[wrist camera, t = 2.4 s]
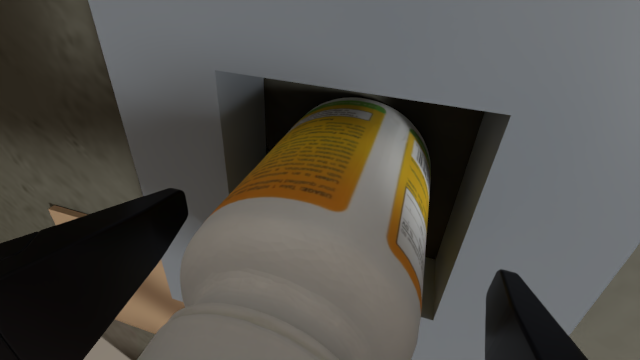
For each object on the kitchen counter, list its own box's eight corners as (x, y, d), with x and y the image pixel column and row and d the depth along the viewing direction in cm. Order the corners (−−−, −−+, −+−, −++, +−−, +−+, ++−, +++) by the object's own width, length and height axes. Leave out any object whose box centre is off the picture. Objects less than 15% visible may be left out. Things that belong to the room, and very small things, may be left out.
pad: (218, 350, 24) (215, 355, 24) (102, 309, 26) (98, 313, 26) (198, 246, 19) (193, 251, 18) (54, 205, 21) (48, 208, 21)
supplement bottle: (269, 168, 14) (56, 412, 7) (337, 60, 11) (85, 284, 3) (372, 241, 15) (287, 556, 7) (466, 157, 12) (506, 559, 4)
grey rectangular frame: (501, 340, 15) (511, 410, 13) (207, 255, 19) (172, 298, 16) (745, -75, 7) (896, -93, 5) (146, -94, 11) (56, -111, 8)
